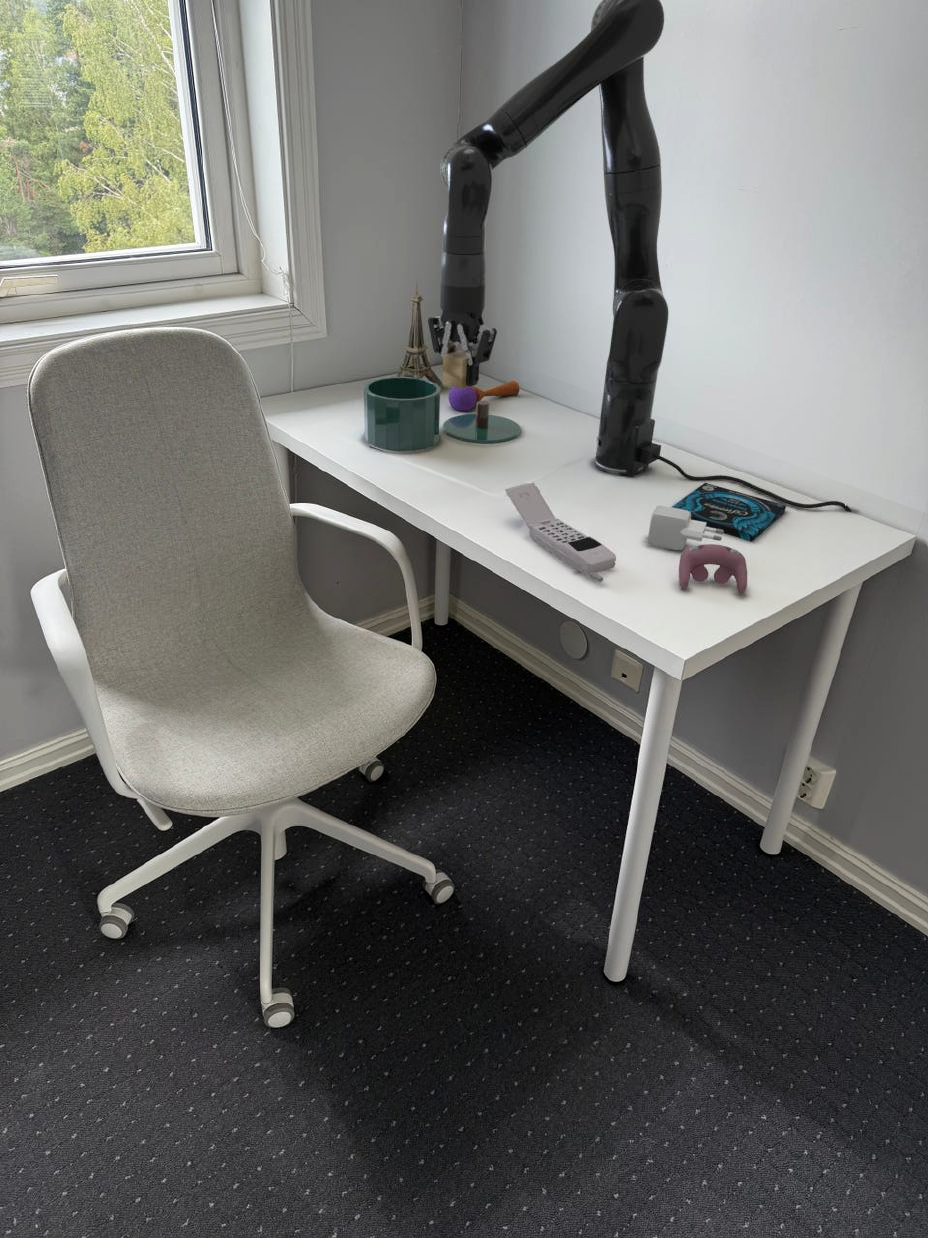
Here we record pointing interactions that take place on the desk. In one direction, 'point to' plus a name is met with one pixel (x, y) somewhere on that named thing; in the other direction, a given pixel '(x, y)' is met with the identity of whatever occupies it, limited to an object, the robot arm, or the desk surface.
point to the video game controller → (716, 555)
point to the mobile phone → (560, 533)
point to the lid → (481, 426)
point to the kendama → (478, 395)
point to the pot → (401, 413)
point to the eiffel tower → (417, 348)
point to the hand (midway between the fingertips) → (460, 381)
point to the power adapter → (677, 528)
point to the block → (455, 369)
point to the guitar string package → (731, 511)
